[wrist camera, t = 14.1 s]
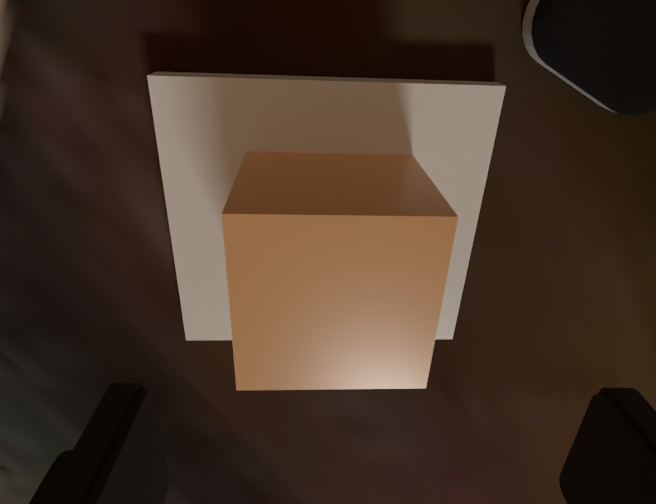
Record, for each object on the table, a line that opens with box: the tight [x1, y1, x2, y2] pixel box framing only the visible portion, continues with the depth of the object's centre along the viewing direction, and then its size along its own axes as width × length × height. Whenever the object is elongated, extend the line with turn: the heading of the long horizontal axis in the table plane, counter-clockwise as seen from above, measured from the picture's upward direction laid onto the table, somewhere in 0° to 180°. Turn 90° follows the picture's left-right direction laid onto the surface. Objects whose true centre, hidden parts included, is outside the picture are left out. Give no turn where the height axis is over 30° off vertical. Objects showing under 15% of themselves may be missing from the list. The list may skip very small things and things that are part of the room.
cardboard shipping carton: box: [222, 151, 458, 390], centre depth 15 cm, size 6×6×6 cm
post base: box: [147, 72, 506, 340], centre depth 16 cm, size 12×11×5 cm
